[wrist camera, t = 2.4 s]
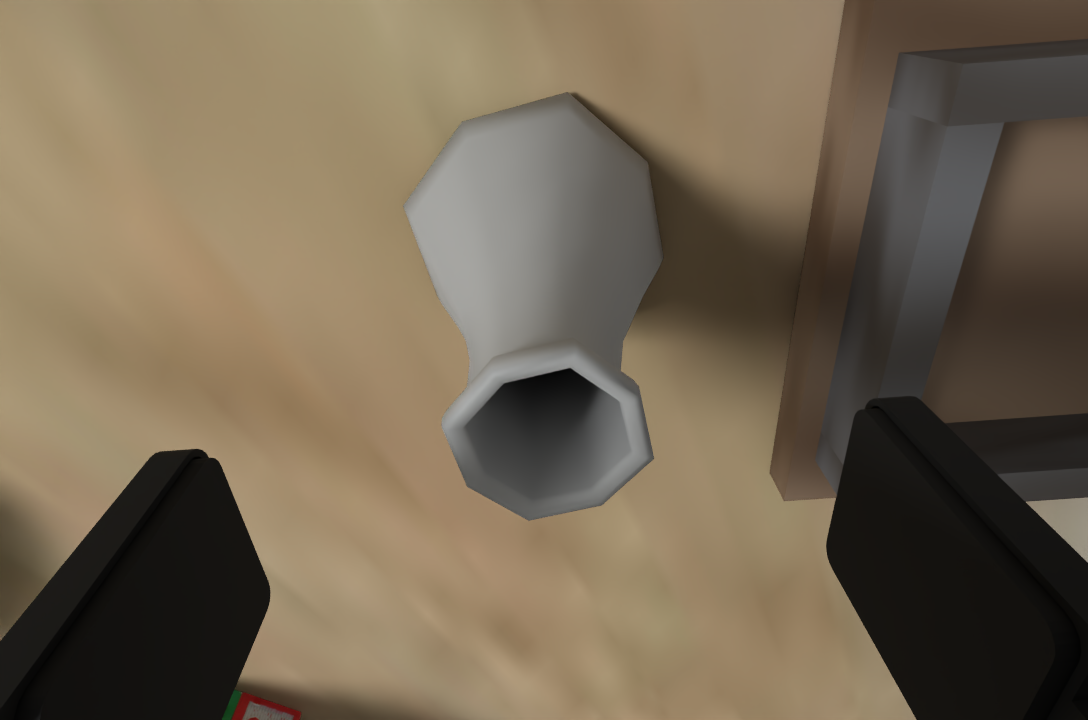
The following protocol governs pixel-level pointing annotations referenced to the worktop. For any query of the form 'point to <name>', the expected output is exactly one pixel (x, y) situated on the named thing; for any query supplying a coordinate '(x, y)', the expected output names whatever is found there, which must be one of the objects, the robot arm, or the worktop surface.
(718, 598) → the worktop surface
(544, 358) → the flask
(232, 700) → the stack of blocks
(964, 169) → the board
